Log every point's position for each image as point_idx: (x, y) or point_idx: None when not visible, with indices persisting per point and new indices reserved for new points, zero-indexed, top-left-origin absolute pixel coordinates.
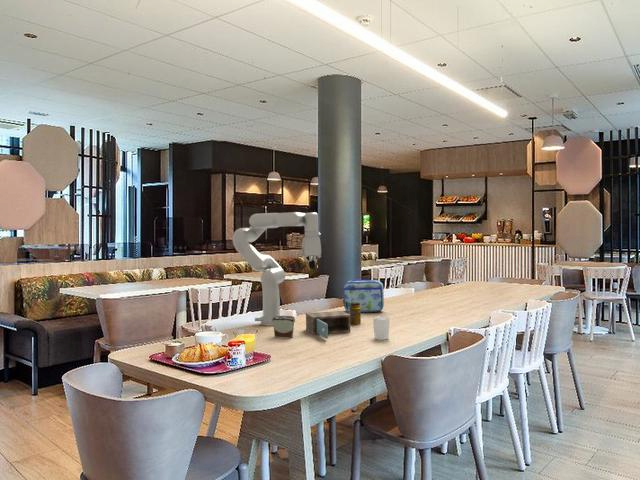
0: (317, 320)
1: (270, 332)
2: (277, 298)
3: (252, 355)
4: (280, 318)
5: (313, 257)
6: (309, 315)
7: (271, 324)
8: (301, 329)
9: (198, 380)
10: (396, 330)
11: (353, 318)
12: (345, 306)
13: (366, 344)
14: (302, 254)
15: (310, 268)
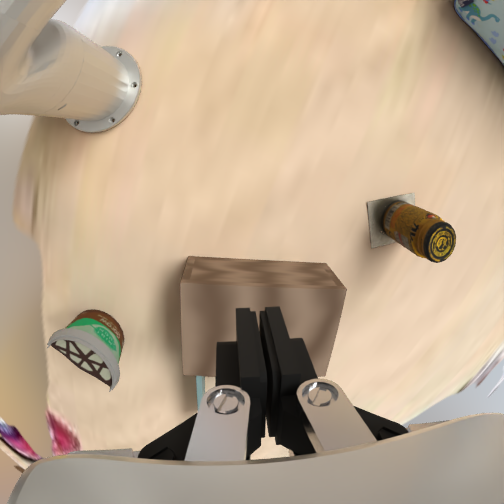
0: (196, 378)
1: (67, 249)
2: (65, 101)
3: (50, 427)
4: (71, 356)
5: (337, 444)
6: (181, 333)
7: (86, 131)
8: (175, 240)
9: (22, 464)
10: (420, 350)
11: (395, 239)
12: (460, 2)
13: (273, 445)
14: (40, 469)
15: (236, 338)
